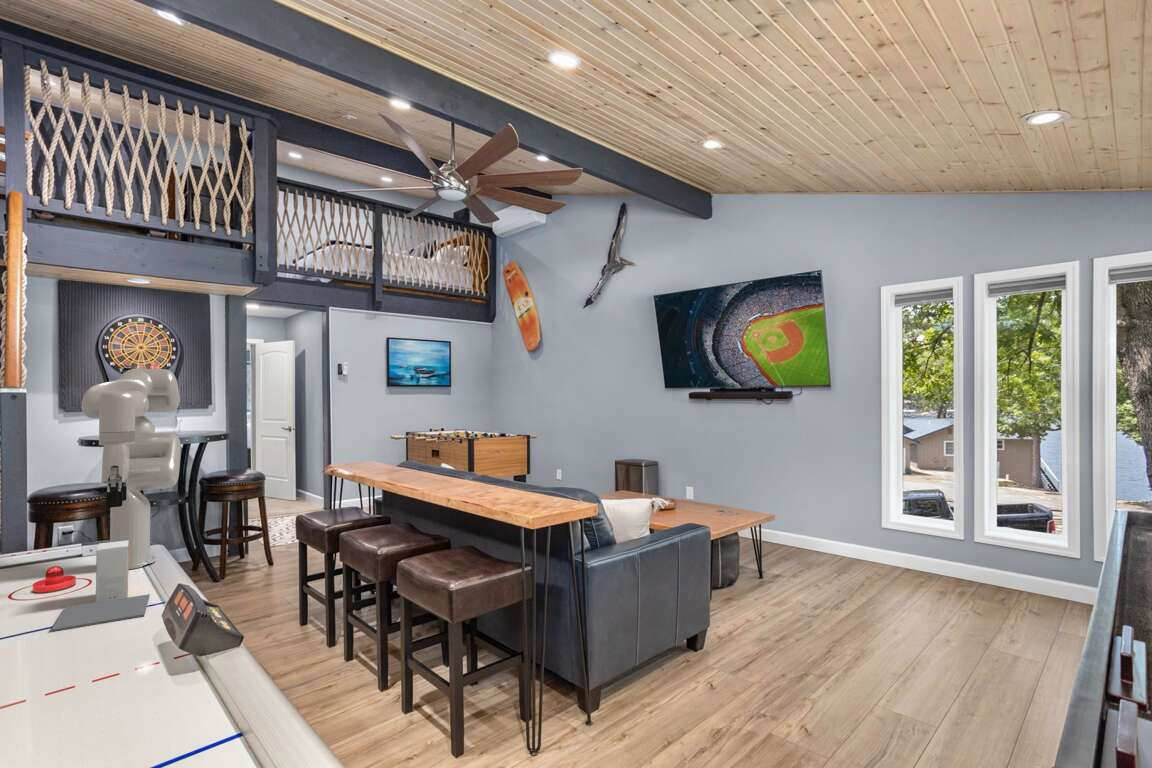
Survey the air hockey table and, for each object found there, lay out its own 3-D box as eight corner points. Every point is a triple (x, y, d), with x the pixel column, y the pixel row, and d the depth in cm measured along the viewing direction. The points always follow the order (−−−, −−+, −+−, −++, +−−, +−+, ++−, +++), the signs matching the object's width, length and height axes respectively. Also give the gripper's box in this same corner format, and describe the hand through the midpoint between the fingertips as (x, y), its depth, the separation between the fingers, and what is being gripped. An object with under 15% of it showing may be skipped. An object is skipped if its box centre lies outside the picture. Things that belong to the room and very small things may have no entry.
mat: (65, 609, 138) (66, 606, 138) (149, 596, 146) (149, 594, 146) (51, 631, 124) (51, 629, 124) (144, 616, 133) (144, 614, 133)
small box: (128, 598, 145) (128, 545, 145) (95, 604, 141) (95, 550, 141) (128, 589, 151) (129, 539, 152) (97, 595, 148) (97, 543, 148)
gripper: (103, 436, 159) (103, 500, 159) (93, 441, 144) (93, 511, 144) (138, 435, 163) (137, 497, 163) (131, 440, 148) (131, 508, 148)
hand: (116, 503), depth 153 cm, fingers open, 9 cm apart
